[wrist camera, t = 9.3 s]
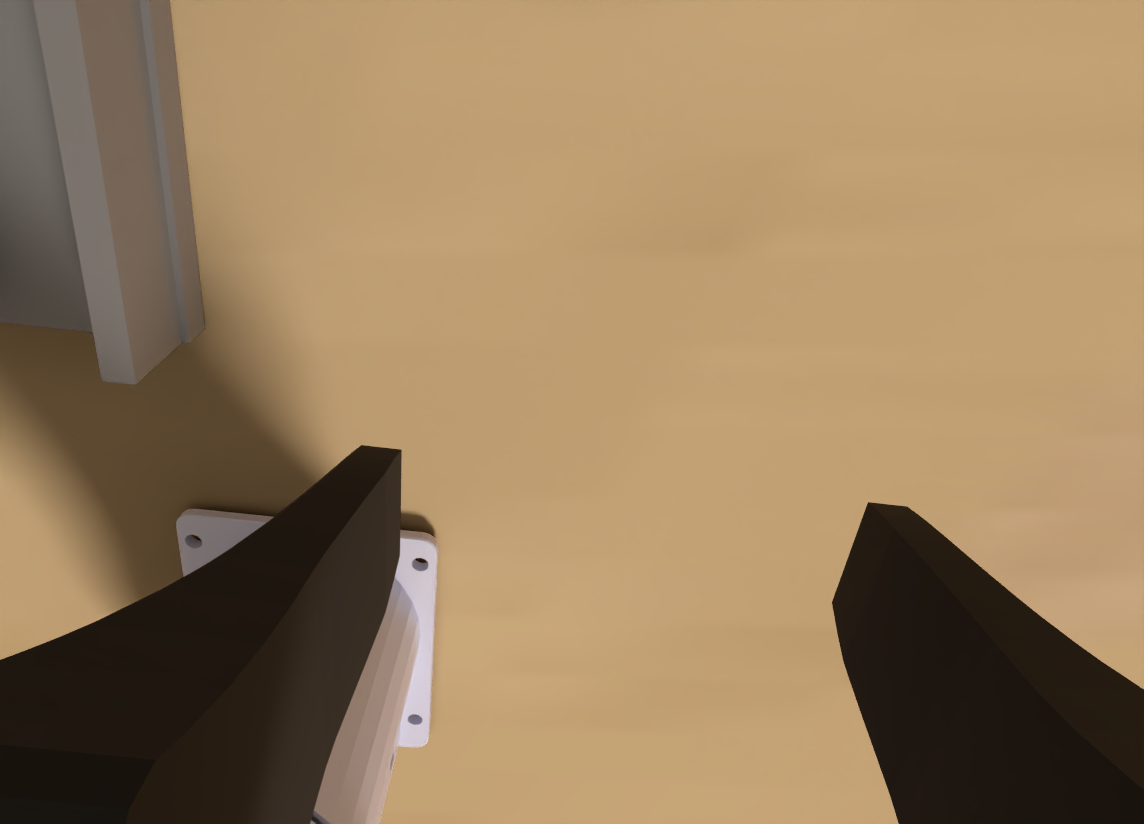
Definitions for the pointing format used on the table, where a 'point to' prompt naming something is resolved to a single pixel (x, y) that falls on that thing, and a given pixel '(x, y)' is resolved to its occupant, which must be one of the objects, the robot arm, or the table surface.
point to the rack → (96, 180)
